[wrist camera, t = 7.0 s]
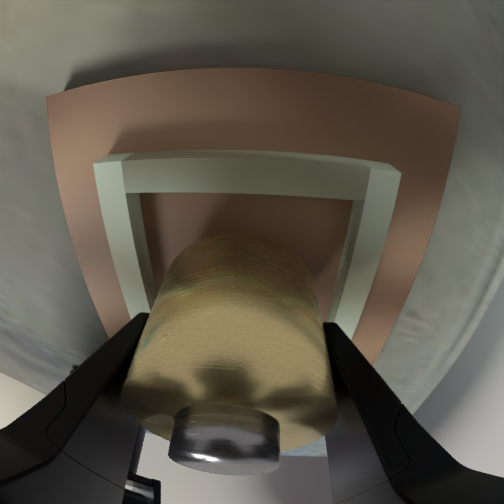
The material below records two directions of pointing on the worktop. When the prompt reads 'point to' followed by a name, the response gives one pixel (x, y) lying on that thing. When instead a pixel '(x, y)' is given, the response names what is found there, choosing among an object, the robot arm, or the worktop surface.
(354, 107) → the carrier board
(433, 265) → the worktop surface
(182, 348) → the tan two-tone cylinder
